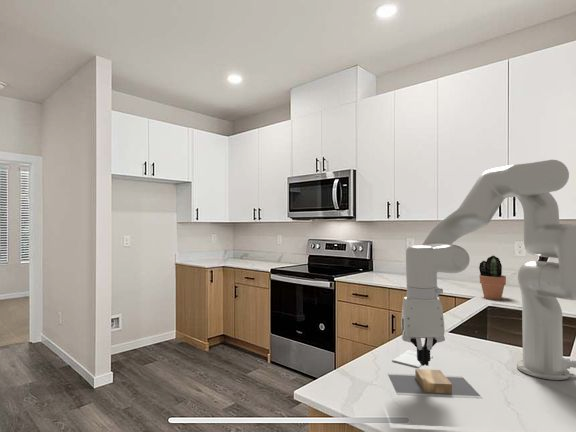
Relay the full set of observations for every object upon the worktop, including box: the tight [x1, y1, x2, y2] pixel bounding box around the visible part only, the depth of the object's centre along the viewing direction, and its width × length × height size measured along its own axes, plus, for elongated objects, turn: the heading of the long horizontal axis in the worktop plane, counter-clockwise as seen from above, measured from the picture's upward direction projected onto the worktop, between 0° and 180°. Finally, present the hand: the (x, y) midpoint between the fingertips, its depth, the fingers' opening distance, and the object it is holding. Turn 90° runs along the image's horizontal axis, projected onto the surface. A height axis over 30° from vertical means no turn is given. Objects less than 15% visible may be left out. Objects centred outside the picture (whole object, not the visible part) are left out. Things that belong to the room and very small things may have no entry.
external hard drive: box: [391, 349, 434, 369], centre depth 115 cm, size 2×8×12 cm
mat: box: [387, 372, 483, 399], centre depth 96 cm, size 20×13×1 cm, turn 85°
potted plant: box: [478, 255, 507, 301], centre depth 216 cm, size 14×14×25 cm
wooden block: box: [414, 368, 452, 393], centre depth 96 cm, size 2×9×6 cm
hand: (423, 363), depth 96 cm, fingers closed
